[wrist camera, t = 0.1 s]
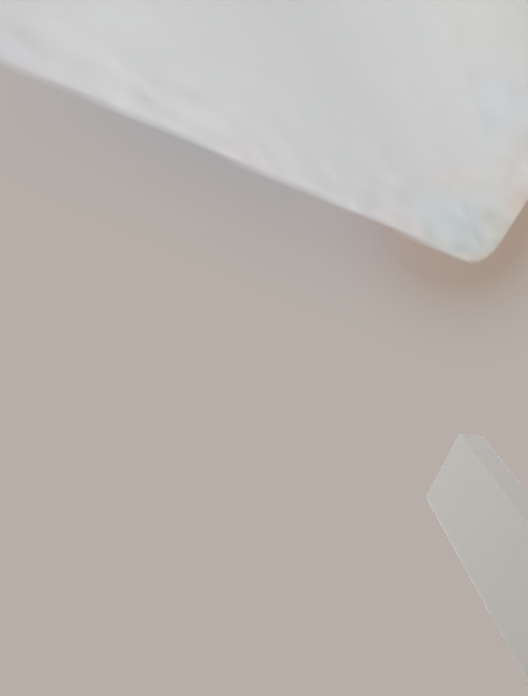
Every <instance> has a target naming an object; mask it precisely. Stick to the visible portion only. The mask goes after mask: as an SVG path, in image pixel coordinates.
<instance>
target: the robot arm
mask: <svg viewBox="0 0 528 696" xmlns="http://www.w3.org/2000/svg"><path fill="white" fill-rule="evenodd" d="M426 499H427V501H428V503H429V505H430V506H431V508H432V510H433V512H434V514H435V516H436V517H437V519H438V521H439V523H440V525H441V526H442V528H443V530H444V532H445V534H446V536H447V537H448V539H449V541H450V543H451V545H452V547H453V548H454V550H455V552H456V554H457V556H458V557H459V559H460V561H461V563H462V565H463V567H464V568H465V570H466V572H467V574H468V576H469V578H470V579H471V581H472V583H473V585H474V586H475V589H476V590H477V592H478V594H479V596H480V598H481V599H482V601H483V603H484V605H485V607H486V609H487V610H488V612H489V614H490V616H491V618H492V619H493V621H494V623H495V625H496V627H497V629H498V630H499V632H500V634H501V636H502V638H503V640H504V641H505V643H506V645H507V647H508V648H509V651H510V652H511V654H512V656H513V658H514V659H515V662H516V663H517V665H518V667H519V669H520V671H521V672H522V674H523V676H524V678H525V680H526V681H527V683H528V491H527V490H526V489H525V488H524V486H523V485H522V484H521V483H520V481H519V480H518V479H517V478H516V477H515V475H514V474H513V473H512V472H511V471H510V469H509V468H508V467H507V466H506V464H505V463H504V462H503V461H502V460H501V458H500V457H499V456H498V455H497V453H496V452H495V451H494V450H493V449H492V447H491V446H490V445H489V444H488V442H487V441H486V440H485V439H484V438H483V437H482V435H472V434H461V433H459V435H458V437H457V439H456V441H455V443H454V444H453V446H452V448H451V450H450V452H449V454H448V456H447V458H446V460H445V461H444V463H443V465H442V467H441V469H440V471H439V473H438V475H437V477H436V479H435V480H434V483H433V484H432V486H431V488H430V490H429V492H428V494H427V496H426Z"/></svg>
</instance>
